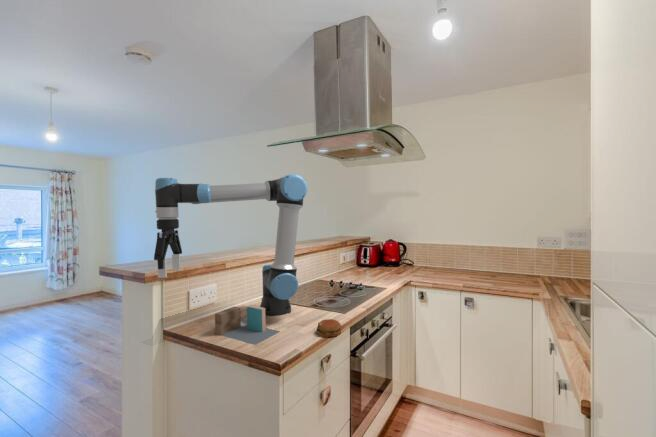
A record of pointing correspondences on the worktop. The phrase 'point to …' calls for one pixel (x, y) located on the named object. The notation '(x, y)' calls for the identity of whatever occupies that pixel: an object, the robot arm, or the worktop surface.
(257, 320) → the teal and beige block
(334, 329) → the burger
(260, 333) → the mat
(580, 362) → the worktop surface
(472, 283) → the worktop surface
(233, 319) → the brown wooden block
